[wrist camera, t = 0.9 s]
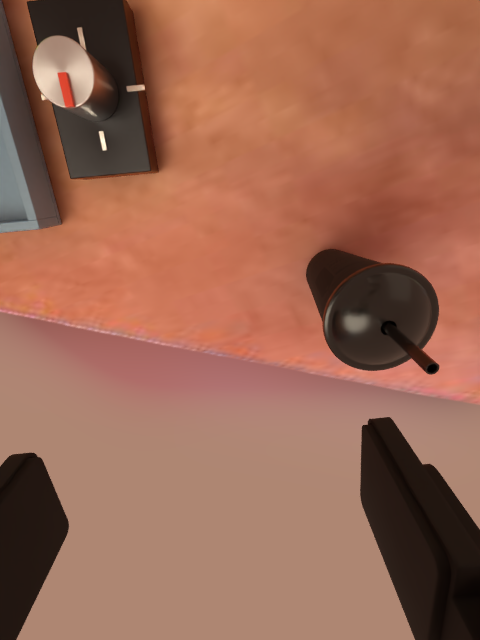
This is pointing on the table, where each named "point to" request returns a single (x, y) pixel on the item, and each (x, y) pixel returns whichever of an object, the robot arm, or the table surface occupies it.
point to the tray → (20, 151)
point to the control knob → (74, 79)
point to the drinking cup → (373, 310)
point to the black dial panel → (125, 66)
